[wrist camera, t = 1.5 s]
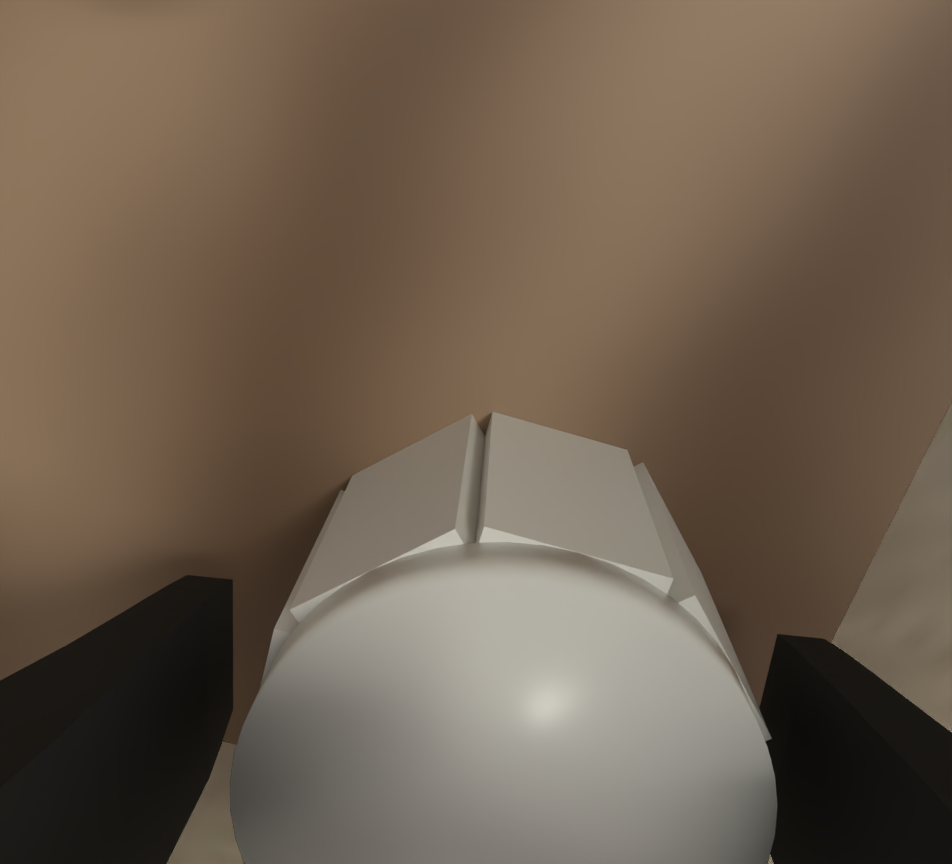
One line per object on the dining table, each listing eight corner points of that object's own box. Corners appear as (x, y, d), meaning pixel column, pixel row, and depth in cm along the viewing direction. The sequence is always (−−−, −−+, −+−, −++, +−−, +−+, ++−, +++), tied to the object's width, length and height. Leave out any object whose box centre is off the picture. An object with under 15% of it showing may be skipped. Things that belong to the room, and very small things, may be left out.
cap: (747, 483, 12) (871, 672, 8) (618, 782, 14) (664, 1064, 10) (369, 376, 12) (289, 512, 8) (288, 696, 14) (189, 948, 10)
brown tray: (1271, -370, 10) (1789, -711, 6) (702, 815, 16) (766, 1045, 12) (-125, -864, 9) (-636, -1659, 5) (-165, 589, 15) (-412, 756, 11)
